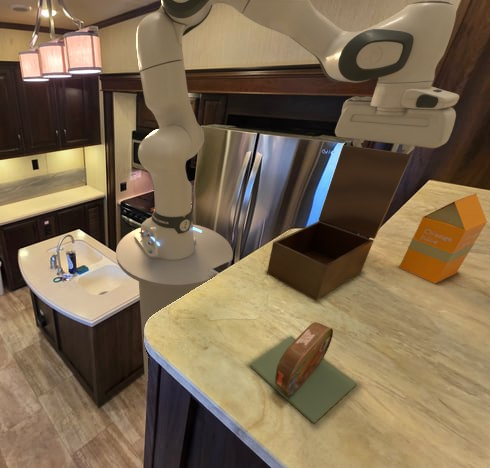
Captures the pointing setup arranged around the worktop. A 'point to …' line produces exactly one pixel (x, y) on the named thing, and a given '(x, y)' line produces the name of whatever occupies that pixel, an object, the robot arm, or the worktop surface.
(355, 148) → the lid
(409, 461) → the worktop surface
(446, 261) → the orange juice
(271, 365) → the mat
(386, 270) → the worktop surface
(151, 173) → the robot arm
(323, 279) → the brown open box
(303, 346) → the tin
